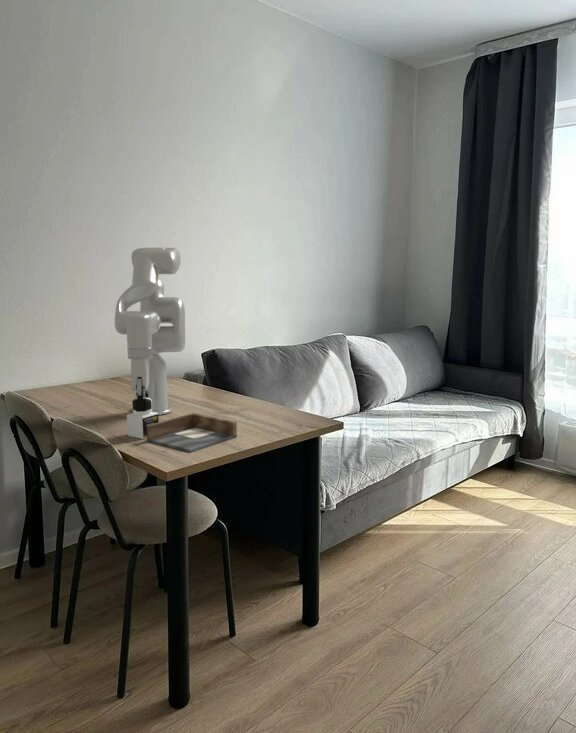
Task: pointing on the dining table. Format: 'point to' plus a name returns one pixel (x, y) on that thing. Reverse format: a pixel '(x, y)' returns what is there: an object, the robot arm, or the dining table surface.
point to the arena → (191, 432)
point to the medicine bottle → (141, 420)
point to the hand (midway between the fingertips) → (142, 407)
